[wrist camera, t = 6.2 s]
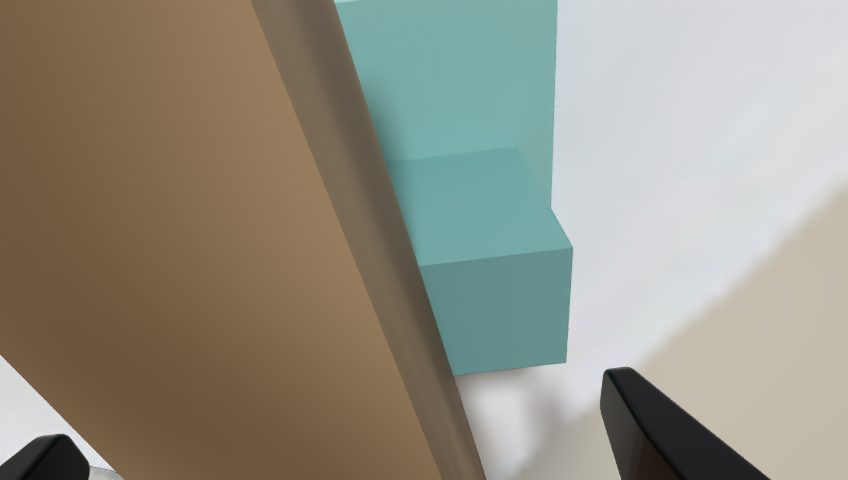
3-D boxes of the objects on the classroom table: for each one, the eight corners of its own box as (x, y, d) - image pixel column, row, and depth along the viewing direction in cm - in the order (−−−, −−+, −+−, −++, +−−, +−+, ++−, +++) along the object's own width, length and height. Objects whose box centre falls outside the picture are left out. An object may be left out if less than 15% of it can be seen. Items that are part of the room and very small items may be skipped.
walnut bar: (232, -316, 5) (-51, -753, 2) (506, 542, 15) (540, 725, 11) (-64, -213, 6) (-775, -427, 2) (391, 563, 15) (391, 749, 12)
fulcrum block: (546, -29, 12) (657, 5, 7) (539, 315, 18) (597, 467, 13) (99, 28, 12) (-103, 100, 7) (236, 351, 18) (177, 516, 13)
